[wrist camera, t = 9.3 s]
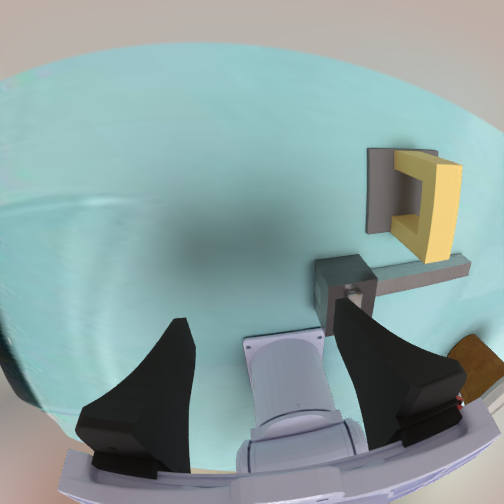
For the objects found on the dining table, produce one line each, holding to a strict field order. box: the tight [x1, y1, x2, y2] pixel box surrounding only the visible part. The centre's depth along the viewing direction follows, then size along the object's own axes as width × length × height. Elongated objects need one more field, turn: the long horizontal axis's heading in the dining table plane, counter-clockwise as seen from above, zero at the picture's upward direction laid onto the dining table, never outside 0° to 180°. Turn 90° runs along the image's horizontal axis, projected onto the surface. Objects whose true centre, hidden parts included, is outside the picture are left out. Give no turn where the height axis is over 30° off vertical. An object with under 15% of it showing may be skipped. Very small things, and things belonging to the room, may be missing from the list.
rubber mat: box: [366, 148, 438, 234], centre depth 20 cm, size 7×7×1 cm
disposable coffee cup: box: [447, 334, 504, 415], centre depth 27 cm, size 10×10×12 cm
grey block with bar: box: [314, 253, 471, 337], centre depth 22 cm, size 5×17×5 cm, turn 96°
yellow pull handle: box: [390, 150, 463, 264], centre depth 18 cm, size 7×2×6 cm, turn 6°
